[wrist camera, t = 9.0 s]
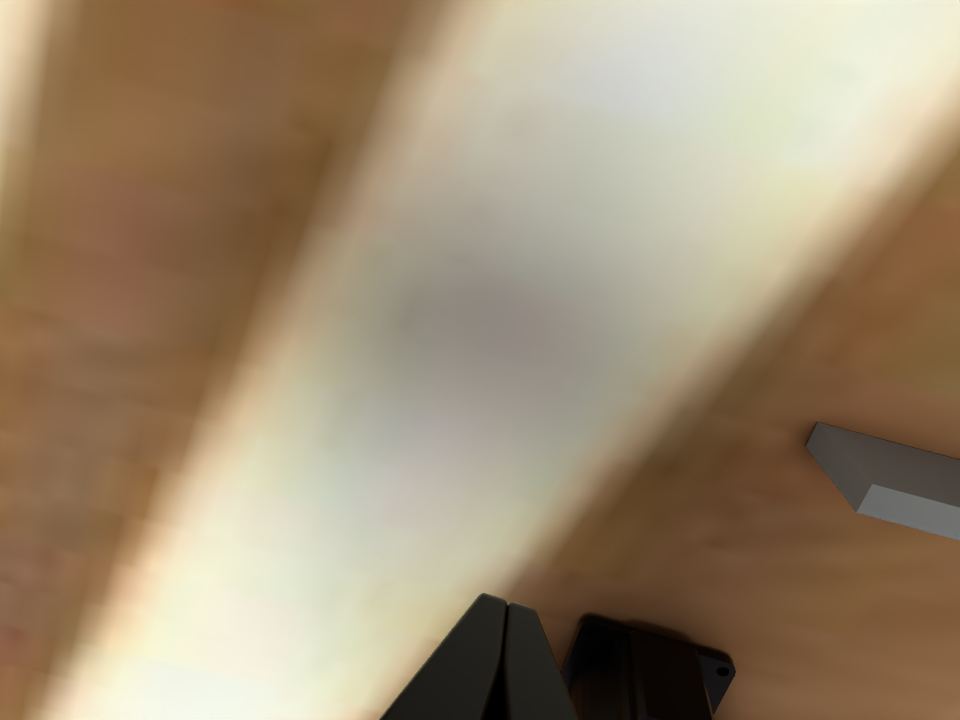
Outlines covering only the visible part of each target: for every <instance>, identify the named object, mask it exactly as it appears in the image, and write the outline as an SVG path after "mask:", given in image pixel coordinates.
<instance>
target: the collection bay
mask: <svg viewBox="0 0 960 720" xmlns="http://www.w3.org/2000/svg"><path fill="white" fill-rule="evenodd" d="M806 448H807V449H808V451H809V452H810V453H811V454H812V456H813V457H814V458H815V460H816V461H817V462H818V463H819V465H820V466H821V467H822V469H823V470H824V471H825V473H826V474H827V475H828V476H829V478H830V479H831V480H832V482H833V483H834V484H835V485H836V487H837V488H838V489H839V491H840V492H841V493H842V495H843V496H844V497H845V498H846V500H847V501H848V502H849V504H850V505H851V506H852V507H853V509H854V510H855V511H856V512H857V513H860V514H864V515H867V516H871V517H875V518H878V519H882V520H886V521H889V522H893V523H897V524H900V525H904V526H908V527H911V528H915V529H919V530H922V531H926V532H930V533H933V534H937V535H941V536H944V537H948V538H951V539H955V540H959V541H960V460H958V459H954V458H951V457H947V456H943V455H939V454H936V453H932V452H928V451H924V450H920V449H917V448H913V447H909V446H905V445H902V444H898V443H894V442H890V441H887V440H883V439H879V438H875V437H871V436H868V435H864V434H860V433H856V432H853V431H849V430H845V429H841V428H838V427H834V426H830V425H826V424H822V423H819V422H818V423H817V425H816V427H815V429H814V431H813V433H812V435H811V437H810V439H809V441H808V443H807V445H806Z"/></svg>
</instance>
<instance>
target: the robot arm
mask: <svg viewBox="0 0 960 720" xmlns="http://www.w3.org/2000/svg"><path fill="white" fill-rule="evenodd" d="M588 628H594V629H595V630H589V629H588ZM719 667H724V668H719ZM735 673H736V671H735V667H734V664H733V661H732V659H731V658H730V657H728V656H726V655H724V654H720V653H717V652H714V651H710V650H707V649H703V648H700V647H696V646H693V645H690V644H686V643H683V642H679V641H676V640H673V639H669V638H666V637H662V636H659V635H656V634H652V633H649V632H645V631H642V630H638V629H635V628H632V627H628V626H625V625H621V624H618V623H615V622H611V621H608V620H604V619H601V618H598V617H594V616H587V617H584V618H583V619H581V621H580V622H579V625H578V628H577V630H576V633H575V636H574V638H573V641H572V643H571V646H570V649H569V651H568V654H567V657H566V659H565V662H564V664H563V667H562V670H561V672H560V670H559V668H558V665H557V663H556V660H555V658H554V655H553V653H552V650H551V648H550V645H549V643H548V640H547V638H546V635H545V633H544V630H543V627H542V625H541V622H540V620H539V617H538V615H537V613H536V611H535V610H534V609H533V608H532V607H529V606H526V605H522V604H519V603H516V602H509V603H508V604H507V602H506V600H505V599H503V598H499V597H496V596H493V595H489V594H486V593H482V594H480V595H479V596H478V597H477V599H476V600H475V601H474V602H473V604H472V605H471V606H470V607H469V608H468V610H467V611H466V612H465V613H464V615H463V616H462V617H461V618H460V620H459V621H458V622H457V623H456V625H455V626H454V627H453V628H452V630H451V631H450V632H449V633H448V635H447V636H446V637H445V638H444V639H443V641H442V642H441V643H440V644H439V646H438V647H437V648H436V649H435V651H434V652H433V653H432V654H431V656H430V657H429V658H428V659H427V661H426V662H425V663H424V664H423V666H422V667H421V668H420V669H419V671H418V672H417V673H416V674H415V675H414V677H413V678H412V679H411V680H410V682H409V683H408V684H407V685H406V687H405V688H404V689H403V690H402V692H401V693H400V694H399V695H398V697H397V698H396V699H395V700H394V702H393V703H392V704H391V705H390V707H389V708H388V709H387V710H386V711H385V713H384V714H383V715H382V716H381V718H380V719H379V720H714V716H713V715H714V713H715V711H716V709H717V707H718V706H719V704H720V702H721V700H722V698H723V696H724V694H725V693H726V691H727V689H728V687H729V685H730V683H731V681H732V680H733V678H734V676H735Z"/></svg>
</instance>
